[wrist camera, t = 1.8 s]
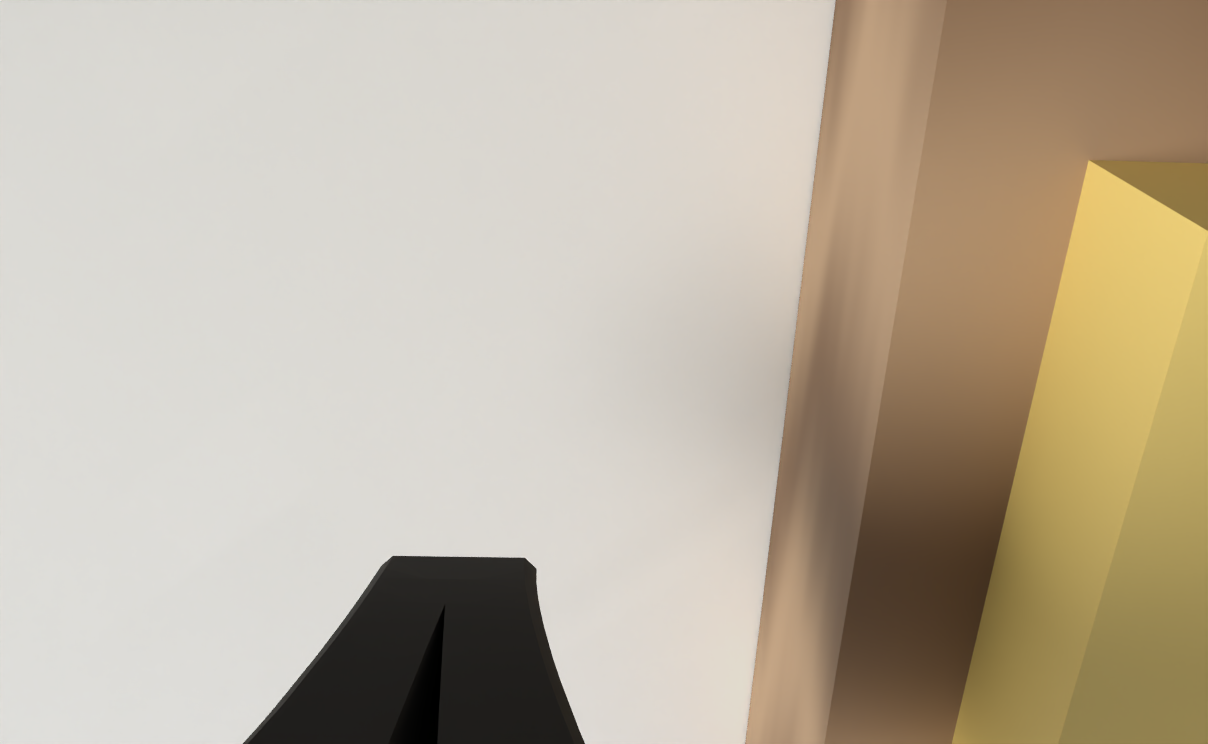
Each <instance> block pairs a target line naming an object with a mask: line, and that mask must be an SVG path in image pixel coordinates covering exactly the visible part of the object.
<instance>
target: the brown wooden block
mask: <svg viewBox="0 0 1208 744" xmlns="http://www.w3.org/2000/svg"><path fill="white" fill-rule="evenodd" d="M1089 160H1105V161H1140V162H1175V163H1208V0H836V4H835V12H834V20H833V28H832V36H831V45H830V53H829V61H828V69H827V77H826V86H825V94H824V102H823V110H822V119H821V127H820V135H819V143H818V151H817V160H816V168H815V176H814V184H813V192H812V201H811V209H810V217H809V225H808V233H807V242H806V250H805V258H804V266H803V274H802V283H801V291H800V299H799V307H798V316H797V324H796V332H795V340H794V348H793V357H792V365H791V373H790V381H789V389H788V398H787V406H786V414H785V422H784V430H783V439H782V447H781V455H780V463H779V471H778V480H777V488H776V496H775V504H774V513H773V521H772V529H771V537H770V545H769V554H768V562H767V570H766V578H765V586H764V595H763V603H762V611H761V619H760V627H759V636H758V644H757V652H756V660H755V668H754V677H753V685H752V693H751V701H750V710H749V718H748V726H747V734H746V742H745V744H952V740H953V736H954V732H955V728H956V723H957V719H958V715H959V711H960V706H961V702H962V698H963V693H964V689H965V685H966V681H967V676H968V672H969V668H970V664H971V659H972V655H973V651H974V647H975V642H976V638H977V634H978V630H979V625H980V621H981V617H982V613H983V608H984V604H985V600H986V595H987V591H988V587H989V583H990V578H991V574H992V570H993V566H994V561H995V557H996V553H997V549H998V544H999V540H1000V536H1001V532H1002V527H1003V523H1004V519H1005V515H1006V510H1007V506H1008V502H1009V497H1010V493H1011V489H1012V485H1013V480H1014V476H1015V472H1016V468H1017V463H1018V459H1019V455H1020V451H1021V446H1022V442H1023V438H1024V434H1025V429H1026V425H1027V421H1028V417H1029V412H1030V408H1031V404H1032V399H1033V395H1034V391H1035V387H1036V382H1037V378H1038V374H1039V370H1040V365H1041V361H1042V357H1043V353H1044V348H1045V344H1046V340H1047V336H1048V331H1049V327H1050V323H1051V319H1052V314H1053V310H1054V306H1055V301H1056V297H1057V293H1058V289H1059V284H1060V280H1061V276H1062V272H1063V267H1064V263H1065V259H1066V255H1067V250H1068V246H1069V242H1070V238H1071V233H1072V229H1073V225H1074V221H1075V216H1076V212H1077V208H1078V203H1079V199H1080V195H1081V191H1082V186H1083V182H1084V178H1085V174H1086V169H1087V165H1088V161H1089Z"/></svg>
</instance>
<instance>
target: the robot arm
mask: <svg viewBox="0 0 1208 744" xmlns="http://www.w3.org/2000/svg"><path fill="white" fill-rule="evenodd" d="M243 744H585V743H584V740H583V738H582V736H581V733H580V731H579V729H578V726H577V723H576V721H575V718H574V715H573V713H572V710H571V707H570V705H569V702H568V700H567V697H566V694H565V692H564V689H563V686H562V684H561V681H560V678H559V675H558V672H557V669H556V666H555V663H554V660H553V657H552V654H551V650H550V647H549V643H548V640H547V636H546V632H545V629H544V625H543V621H542V616H541V612H540V607H539V601H538V594H537V585H536V568H535V567H534V566H533V565H532V564H531V563H530V562H529V561H527V560H526V559H525V558H496V557H428V556H392V557H391V558H390V559H389V560H388V561H387V562H385V563H384V564H383V565H382V566H381V567H380V569H379V570H378V572H377V573H376V575H375V576H374V578H373V579H372V581H371V582H370V584H369V585H368V587H367V588H366V590H365V591H364V592H363V594H362V595H361V597H360V598H359V600H358V601H357V602H356V604H355V605H354V607H353V608H352V609H351V611H350V612H349V614H348V615H347V616H346V618H345V619H344V620H343V622H342V623H341V625H340V626H339V627H338V628H337V630H336V631H335V632H334V634H333V635H332V636H331V638H330V639H329V640H328V642H327V643H326V644H325V646H324V647H323V648H322V650H321V651H320V652H319V654H318V655H317V656H316V657H315V659H314V660H313V661H312V662H311V663H310V665H309V666H308V667H307V668H306V670H305V671H304V672H303V673H302V675H301V676H300V677H299V678H298V680H297V681H296V682H295V683H294V684H293V686H292V687H291V688H290V689H289V691H288V692H287V693H286V694H285V696H284V697H283V698H282V699H281V700H280V702H279V703H278V704H277V705H276V707H275V708H274V709H273V710H272V711H271V713H270V714H269V715H268V716H267V717H266V718H265V720H264V721H263V722H262V723H261V724H260V725H259V727H258V728H257V729H256V730H255V731H254V732H253V733H252V734H251V735H250V736H249V738H248V739H247V740H246V741H245V742H244V743H243Z"/></svg>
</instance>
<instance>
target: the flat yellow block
mask: <svg viewBox="0 0 1208 744" xmlns="http://www.w3.org/2000/svg"><path fill="white" fill-rule="evenodd" d="M952 744H1208V163H1175V162H1140V161H1105V160H1089V161H1088V165H1087V169H1086V174H1085V178H1084V182H1083V186H1082V191H1081V195H1080V199H1079V203H1078V208H1077V212H1076V216H1075V221H1074V225H1073V229H1072V233H1071V238H1070V242H1069V246H1068V250H1067V255H1066V259H1065V263H1064V267H1063V272H1062V276H1061V280H1060V284H1059V289H1058V293H1057V297H1056V301H1055V306H1054V310H1053V314H1052V319H1051V323H1050V327H1049V331H1048V336H1047V340H1046V344H1045V348H1044V353H1043V357H1042V361H1041V365H1040V370H1039V374H1038V378H1037V382H1036V387H1035V391H1034V395H1033V399H1032V404H1031V408H1030V412H1029V417H1028V421H1027V425H1026V429H1025V434H1024V438H1023V442H1022V446H1021V451H1020V455H1019V459H1018V463H1017V468H1016V472H1015V476H1014V480H1013V485H1012V489H1011V493H1010V497H1009V502H1008V506H1007V510H1006V515H1005V519H1004V523H1003V527H1002V532H1001V536H1000V540H999V544H998V549H997V553H996V557H995V561H994V566H993V570H992V574H991V578H990V583H989V587H988V591H987V595H986V600H985V604H984V608H983V613H982V617H981V621H980V625H979V630H978V634H977V638H976V642H975V647H974V651H973V655H972V659H971V664H970V668H969V672H968V676H967V681H966V685H965V689H964V693H963V698H962V702H961V706H960V711H959V715H958V719H957V723H956V728H955V732H954V736H953V740H952Z"/></svg>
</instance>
